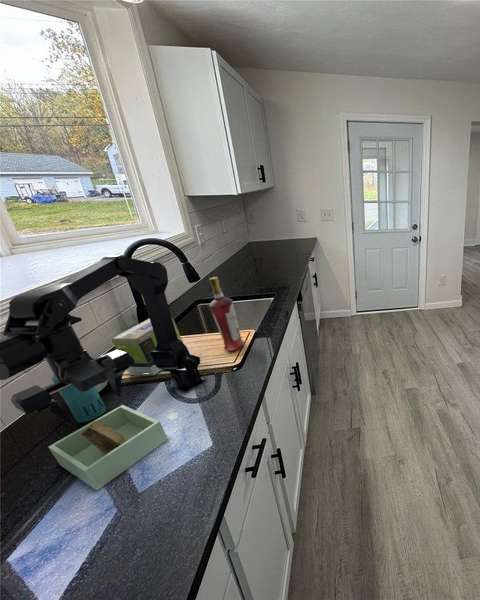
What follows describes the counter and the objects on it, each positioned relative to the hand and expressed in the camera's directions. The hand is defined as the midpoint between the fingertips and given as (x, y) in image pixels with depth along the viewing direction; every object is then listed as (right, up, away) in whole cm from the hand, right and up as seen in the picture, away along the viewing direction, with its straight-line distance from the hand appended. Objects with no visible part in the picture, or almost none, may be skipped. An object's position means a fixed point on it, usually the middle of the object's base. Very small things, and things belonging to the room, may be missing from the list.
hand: (95, 408), depth 72 cm
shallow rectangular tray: (+1, -12, +4) cm, 12 cm away
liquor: (+7, +6, +47) cm, 48 cm away
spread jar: (-27, -4, +28) cm, 39 cm away
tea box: (-16, +2, +40) cm, 43 cm away
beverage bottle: (-15, -8, +15) cm, 23 cm away
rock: (+1, -11, +4) cm, 12 cm away
